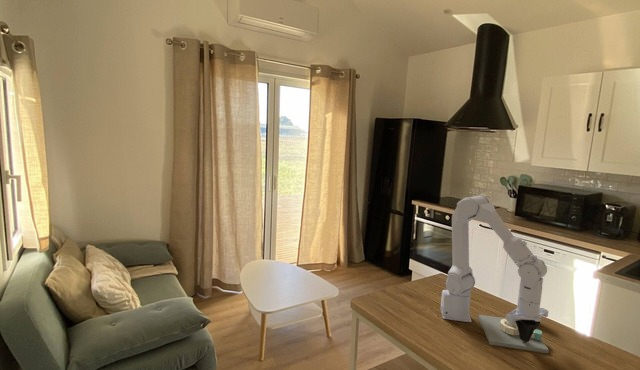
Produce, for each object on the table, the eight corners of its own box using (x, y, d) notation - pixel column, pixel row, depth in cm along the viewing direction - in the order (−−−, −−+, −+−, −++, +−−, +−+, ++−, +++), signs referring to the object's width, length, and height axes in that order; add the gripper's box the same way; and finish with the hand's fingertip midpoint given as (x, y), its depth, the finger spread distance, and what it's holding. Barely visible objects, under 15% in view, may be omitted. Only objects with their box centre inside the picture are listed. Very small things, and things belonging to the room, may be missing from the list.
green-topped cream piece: (498, 331, 107) (499, 325, 107) (501, 322, 112) (501, 316, 112) (540, 343, 101) (541, 337, 100) (541, 334, 106) (541, 328, 105)
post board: (490, 344, 102) (491, 326, 101) (478, 317, 118) (479, 301, 117) (548, 353, 99) (550, 334, 98) (528, 324, 114) (530, 308, 113)
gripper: (522, 308, 94) (516, 352, 96) (560, 302, 98) (554, 344, 100) (501, 296, 101) (497, 337, 103) (538, 291, 105) (533, 331, 107)
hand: (524, 340), depth 102 cm, fingers closed
